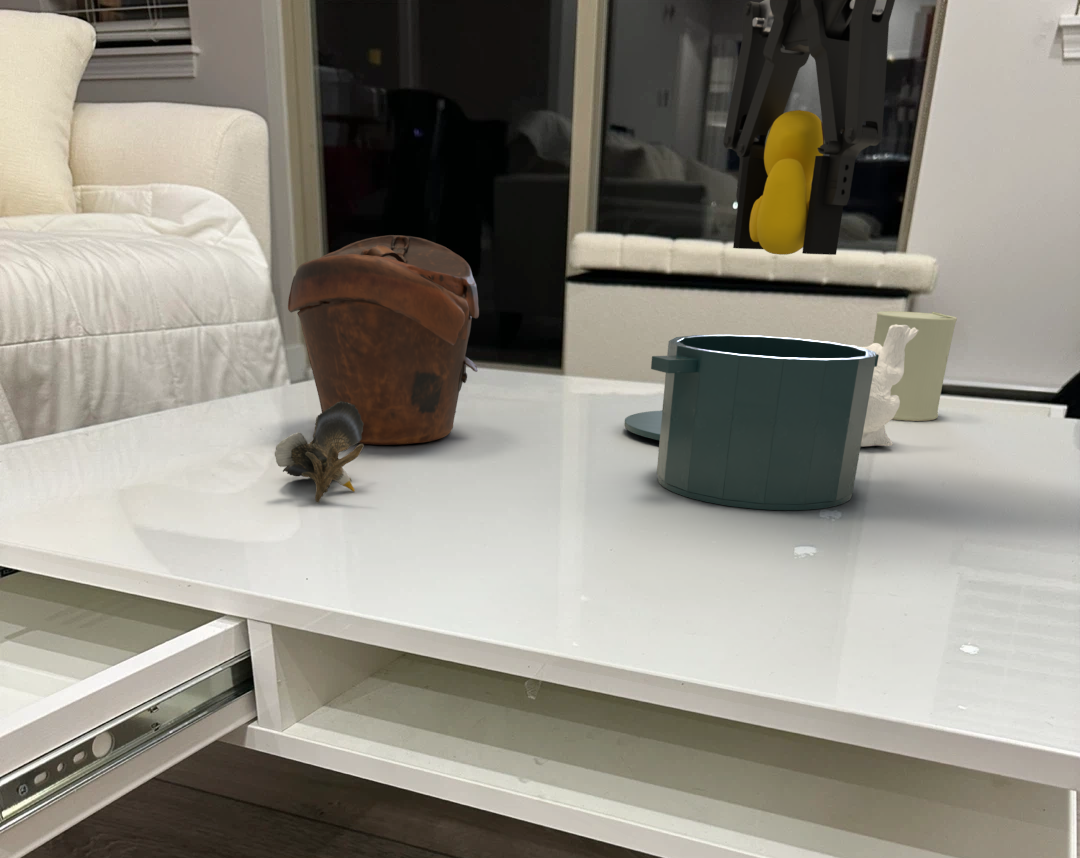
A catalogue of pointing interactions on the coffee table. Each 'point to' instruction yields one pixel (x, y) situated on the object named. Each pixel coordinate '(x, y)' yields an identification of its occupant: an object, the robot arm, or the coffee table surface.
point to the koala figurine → (885, 384)
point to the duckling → (787, 182)
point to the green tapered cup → (919, 361)
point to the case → (389, 333)
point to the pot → (762, 420)
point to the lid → (645, 424)
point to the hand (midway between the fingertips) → (782, 250)
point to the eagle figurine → (324, 448)
